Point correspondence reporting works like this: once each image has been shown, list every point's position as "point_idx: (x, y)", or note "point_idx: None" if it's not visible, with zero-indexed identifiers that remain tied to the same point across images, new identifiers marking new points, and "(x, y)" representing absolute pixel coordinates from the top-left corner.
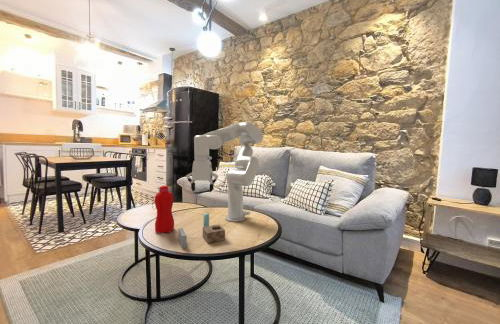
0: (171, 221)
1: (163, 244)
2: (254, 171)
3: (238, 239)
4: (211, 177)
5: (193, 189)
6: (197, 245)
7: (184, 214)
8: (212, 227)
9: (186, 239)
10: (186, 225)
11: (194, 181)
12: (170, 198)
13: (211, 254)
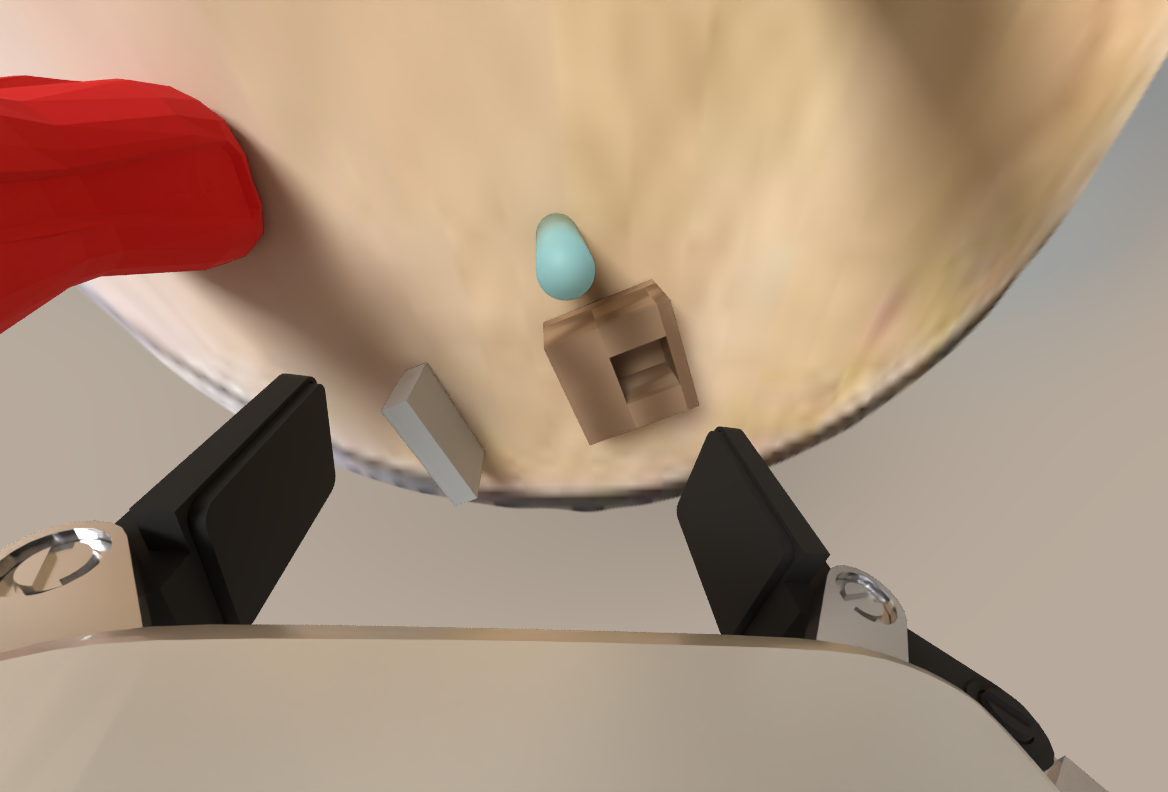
0: (209, 230)
1: (339, 416)
2: None
3: (755, 364)
4: (990, 729)
5: (320, 500)
6: (533, 428)
7: None
8: (617, 354)
9: (479, 481)
10: (323, 29)
11: (146, 610)
12: None
13: (609, 499)
